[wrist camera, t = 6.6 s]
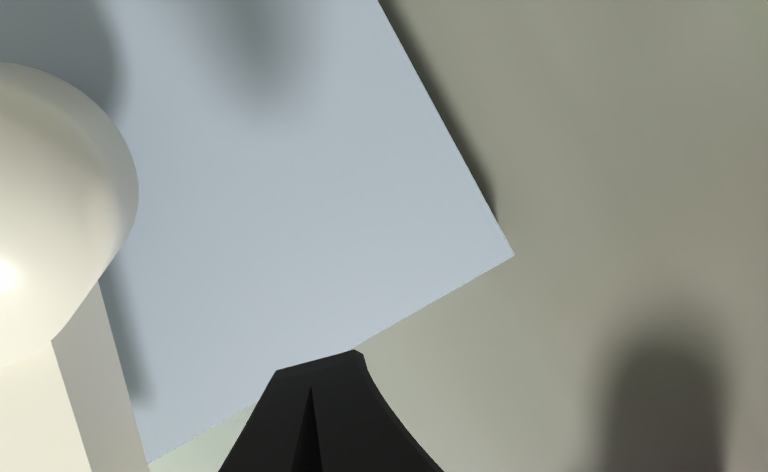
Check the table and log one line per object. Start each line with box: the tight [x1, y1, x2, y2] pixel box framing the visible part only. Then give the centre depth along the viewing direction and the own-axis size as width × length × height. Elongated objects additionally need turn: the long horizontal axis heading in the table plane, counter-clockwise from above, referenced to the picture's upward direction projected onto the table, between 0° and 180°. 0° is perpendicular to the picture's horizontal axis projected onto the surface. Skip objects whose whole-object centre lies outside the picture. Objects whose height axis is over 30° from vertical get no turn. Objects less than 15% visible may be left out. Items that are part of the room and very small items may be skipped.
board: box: [0, 0, 515, 464], centre depth 11 cm, size 14×14×6 cm
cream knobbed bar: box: [0, 62, 149, 472], centre depth 10 cm, size 10×4×3 cm, turn 4°
